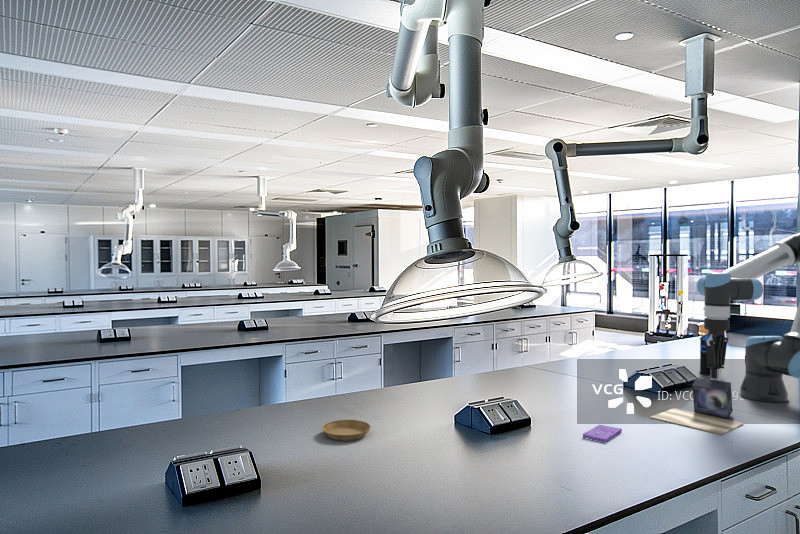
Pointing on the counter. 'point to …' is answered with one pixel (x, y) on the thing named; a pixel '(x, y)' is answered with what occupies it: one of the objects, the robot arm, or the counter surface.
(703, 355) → the aerosol can
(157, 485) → the counter surface
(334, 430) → the plant saucer
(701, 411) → the small box
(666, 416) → the tan flat board
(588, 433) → the sponges
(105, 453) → the counter surface
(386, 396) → the counter surface
